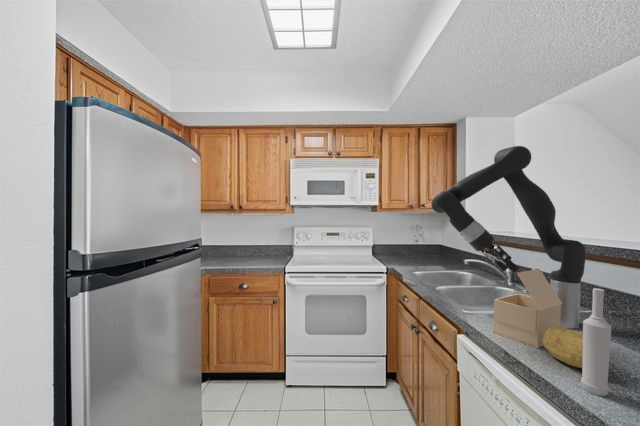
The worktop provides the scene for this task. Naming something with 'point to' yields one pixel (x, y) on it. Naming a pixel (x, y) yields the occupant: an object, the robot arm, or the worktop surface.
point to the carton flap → (539, 289)
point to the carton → (523, 319)
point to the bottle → (596, 348)
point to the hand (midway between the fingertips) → (510, 270)
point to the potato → (564, 345)
